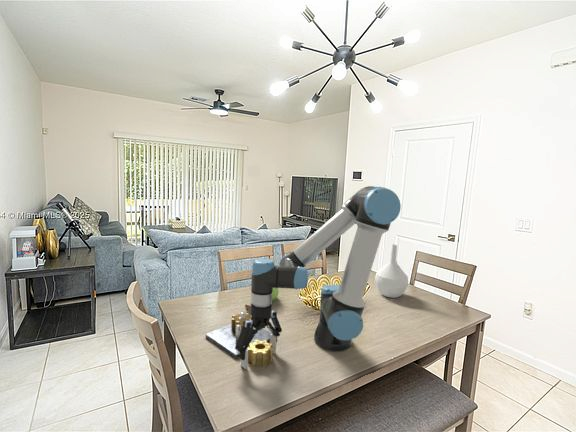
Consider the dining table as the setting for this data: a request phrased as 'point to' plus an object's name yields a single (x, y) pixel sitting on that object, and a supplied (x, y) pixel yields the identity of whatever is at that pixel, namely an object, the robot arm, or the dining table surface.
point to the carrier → (235, 334)
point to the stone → (248, 308)
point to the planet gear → (260, 353)
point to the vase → (391, 278)
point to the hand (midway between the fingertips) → (258, 359)
